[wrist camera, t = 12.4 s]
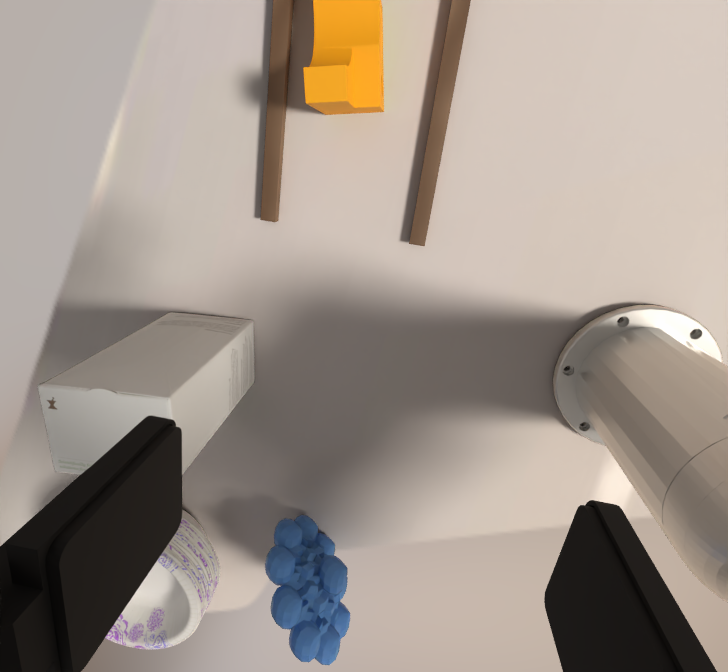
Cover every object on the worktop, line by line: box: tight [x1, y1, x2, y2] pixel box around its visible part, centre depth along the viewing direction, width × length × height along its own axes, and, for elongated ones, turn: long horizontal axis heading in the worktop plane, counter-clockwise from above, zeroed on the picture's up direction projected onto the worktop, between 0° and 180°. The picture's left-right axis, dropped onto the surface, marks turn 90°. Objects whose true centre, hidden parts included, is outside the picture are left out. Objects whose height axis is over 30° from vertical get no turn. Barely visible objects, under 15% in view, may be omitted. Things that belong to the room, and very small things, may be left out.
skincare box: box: [37, 312, 255, 475], centre depth 34 cm, size 8×7×16 cm
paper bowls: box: [105, 509, 220, 649], centre depth 47 cm, size 15×15×8 cm
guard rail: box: [261, 0, 471, 246], centre depth 31 cm, size 14×24×4 cm, turn 172°
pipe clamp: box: [303, 0, 384, 115], centre depth 29 cm, size 12×4×6 cm, turn 2°
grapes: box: [265, 515, 350, 665], centre depth 42 cm, size 12×7×12 cm, turn 34°
